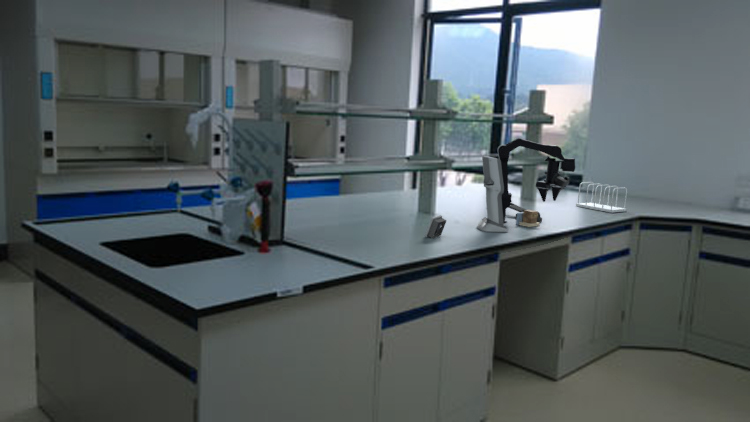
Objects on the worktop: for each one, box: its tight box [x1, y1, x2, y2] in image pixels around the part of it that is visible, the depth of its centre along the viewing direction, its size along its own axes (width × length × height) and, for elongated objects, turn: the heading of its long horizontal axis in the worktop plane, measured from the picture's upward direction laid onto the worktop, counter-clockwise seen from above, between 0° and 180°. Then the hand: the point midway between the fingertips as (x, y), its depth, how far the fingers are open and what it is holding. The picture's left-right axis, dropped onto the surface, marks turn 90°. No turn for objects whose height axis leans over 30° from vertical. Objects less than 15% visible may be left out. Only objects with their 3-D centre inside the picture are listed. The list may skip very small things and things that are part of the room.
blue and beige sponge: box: [515, 212, 541, 228], centre depth 306 cm, size 7×11×6 cm, turn 130°
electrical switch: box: [424, 215, 447, 239], centre depth 263 cm, size 9×5×9 cm, turn 147°
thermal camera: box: [476, 155, 508, 233], centre depth 285 cm, size 12×13×35 cm
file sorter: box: [575, 181, 628, 214], centre depth 377 cm, size 25×17×16 cm
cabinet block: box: [523, 209, 539, 224], centre depth 305 cm, size 6×5×6 cm
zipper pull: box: [507, 202, 543, 223], centre depth 325 cm, size 9×7×25 cm
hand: (549, 201), depth 304 cm, fingers open, 9 cm apart
